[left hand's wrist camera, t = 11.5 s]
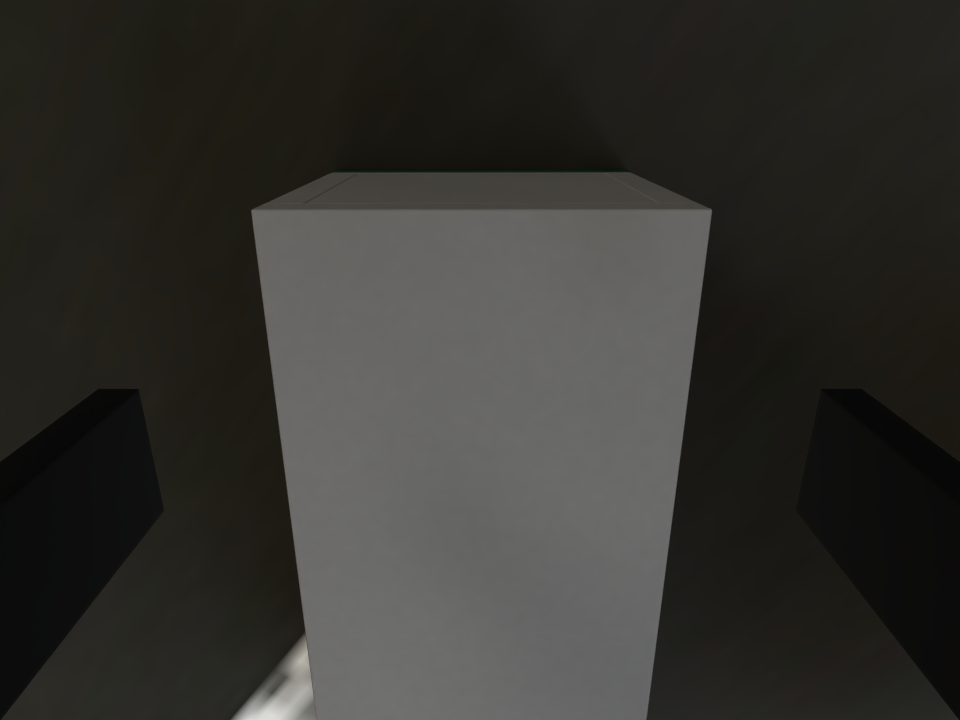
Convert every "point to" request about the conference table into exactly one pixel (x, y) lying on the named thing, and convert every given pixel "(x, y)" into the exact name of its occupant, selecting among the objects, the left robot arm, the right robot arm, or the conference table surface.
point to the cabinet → (481, 432)
